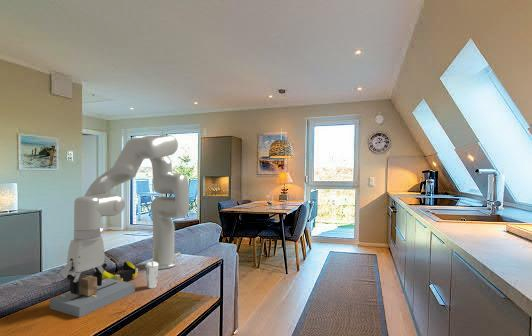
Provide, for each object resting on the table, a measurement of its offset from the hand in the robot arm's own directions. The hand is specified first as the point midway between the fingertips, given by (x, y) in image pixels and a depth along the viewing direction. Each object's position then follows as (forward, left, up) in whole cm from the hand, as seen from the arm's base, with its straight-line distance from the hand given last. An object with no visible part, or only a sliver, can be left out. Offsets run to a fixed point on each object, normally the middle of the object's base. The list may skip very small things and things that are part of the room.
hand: (86, 288), depth 95 cm
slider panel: (-3, 0, -5) cm, 6 cm away
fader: (0, 0, -1) cm, 1 cm away
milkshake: (-19, +9, -5) cm, 22 cm away
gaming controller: (-20, -8, -5) cm, 22 cm away
